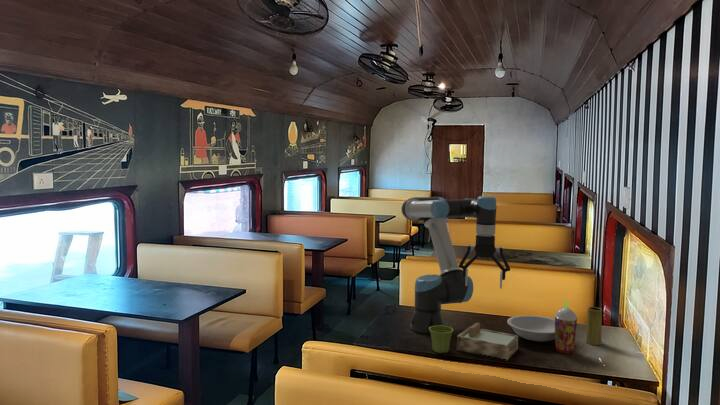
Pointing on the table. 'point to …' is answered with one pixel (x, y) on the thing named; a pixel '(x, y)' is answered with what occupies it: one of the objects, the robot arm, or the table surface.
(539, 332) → the soup bowl
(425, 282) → the robot arm
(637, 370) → the table surface
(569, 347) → the smoothie
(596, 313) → the vase
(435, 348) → the plant pot
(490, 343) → the box
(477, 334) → the cover plate
